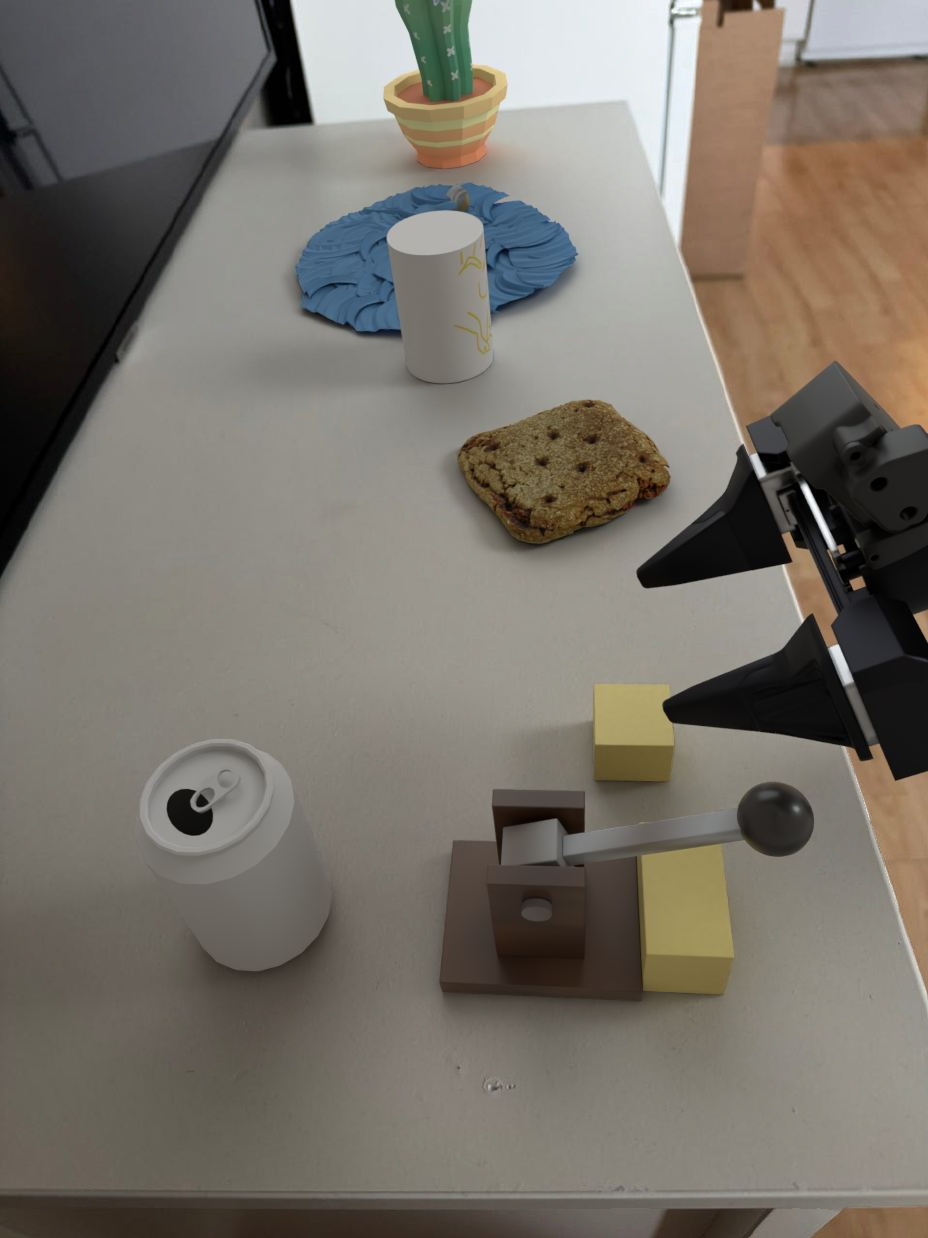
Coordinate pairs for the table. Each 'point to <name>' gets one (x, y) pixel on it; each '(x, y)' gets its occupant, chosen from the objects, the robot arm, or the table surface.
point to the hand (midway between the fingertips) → (651, 641)
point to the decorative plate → (360, 264)
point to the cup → (442, 295)
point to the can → (234, 853)
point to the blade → (671, 832)
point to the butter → (684, 921)
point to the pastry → (563, 470)
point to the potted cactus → (444, 86)
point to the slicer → (540, 914)
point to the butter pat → (631, 733)
